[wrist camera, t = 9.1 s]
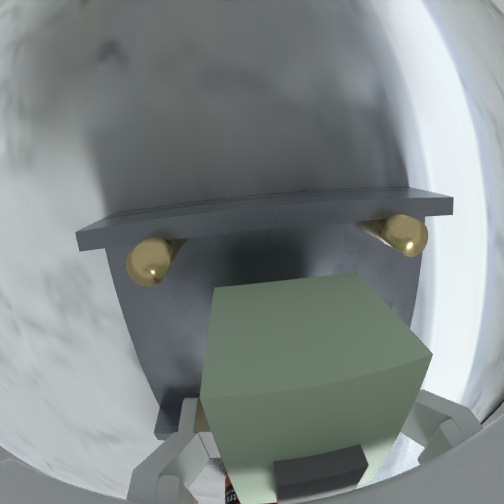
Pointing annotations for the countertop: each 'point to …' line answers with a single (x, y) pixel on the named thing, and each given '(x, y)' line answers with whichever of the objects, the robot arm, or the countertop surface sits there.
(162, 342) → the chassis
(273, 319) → the pale green block
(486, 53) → the countertop surface
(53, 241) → the countertop surface
